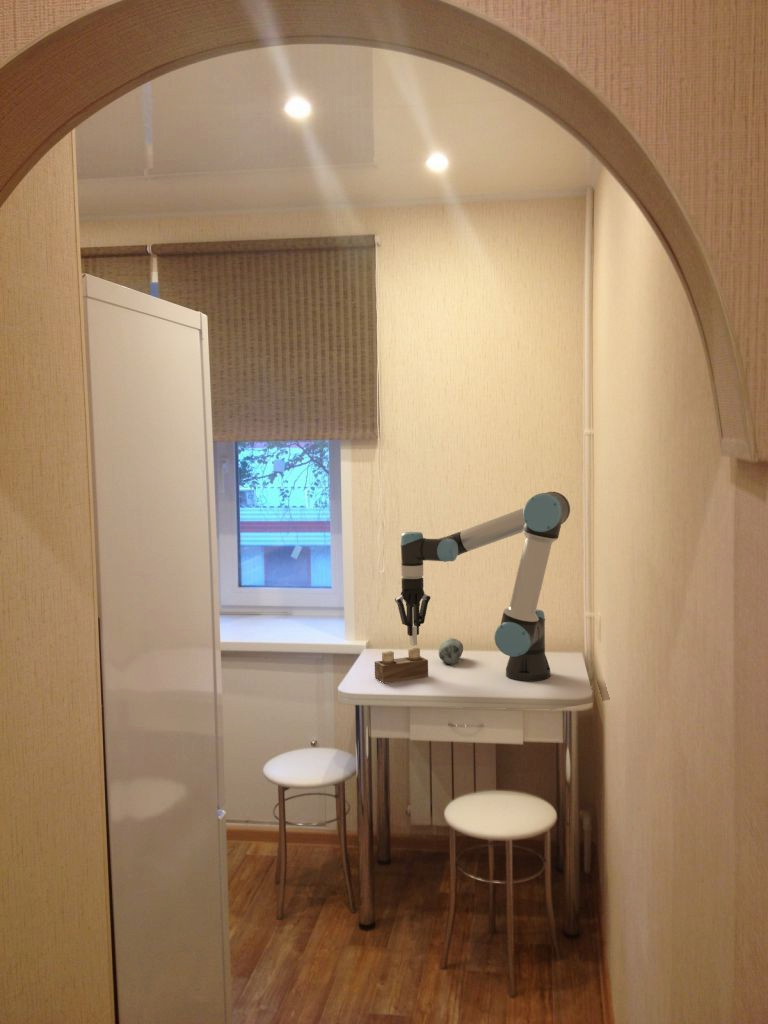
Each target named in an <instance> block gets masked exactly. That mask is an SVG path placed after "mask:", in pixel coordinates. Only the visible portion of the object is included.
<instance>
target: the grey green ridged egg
mask: <svg viewBox="0 0 768 1024" xmlns="http://www.w3.org/2000/svg"><path fill="white" fill-rule="evenodd" d="M463 651H464V644H463V643H462V642H461V641H460V640H459V639H457V638H453V637H450V638H447V639H444V641H443V642H441V644H440V646H439V648H438V657H439V659H440V661H442V662H444V663H446V664H447V665H455V664H457V663H458V662H459V661H460V659H461V657H462V655H463Z"/></svg>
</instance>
